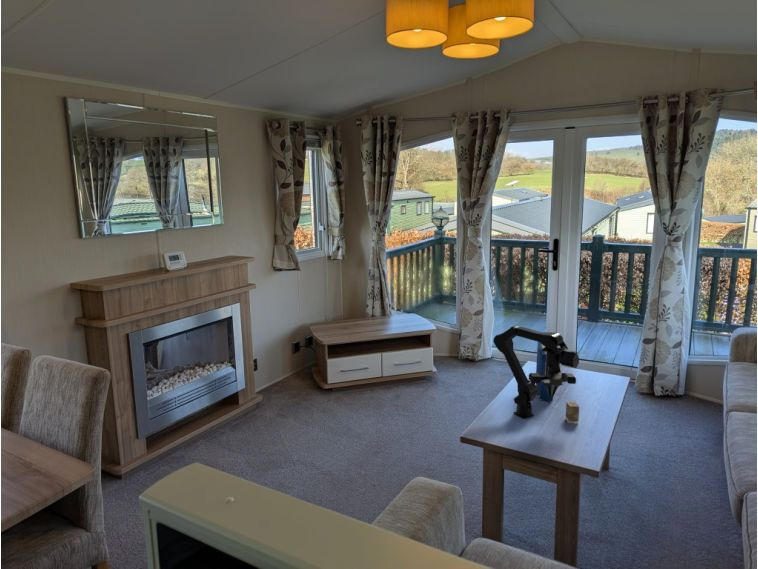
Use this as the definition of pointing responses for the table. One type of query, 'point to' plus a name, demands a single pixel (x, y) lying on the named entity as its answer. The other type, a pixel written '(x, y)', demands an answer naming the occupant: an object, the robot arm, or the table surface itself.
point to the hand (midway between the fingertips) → (551, 397)
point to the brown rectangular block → (572, 412)
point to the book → (542, 373)
